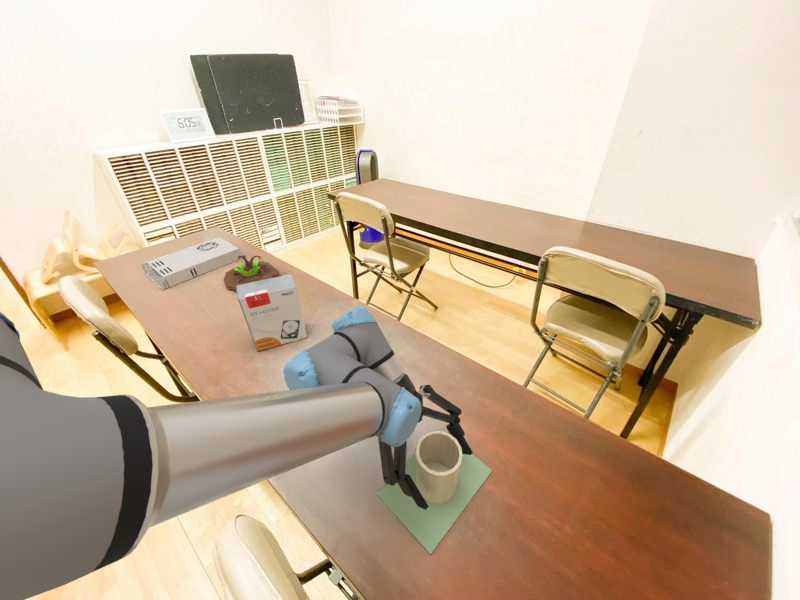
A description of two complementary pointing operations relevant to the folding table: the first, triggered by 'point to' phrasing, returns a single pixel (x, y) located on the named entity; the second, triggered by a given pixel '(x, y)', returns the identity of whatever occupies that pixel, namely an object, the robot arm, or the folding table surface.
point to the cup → (437, 466)
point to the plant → (249, 273)
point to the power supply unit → (190, 262)
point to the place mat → (436, 517)
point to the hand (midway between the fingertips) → (446, 478)
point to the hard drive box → (272, 311)
